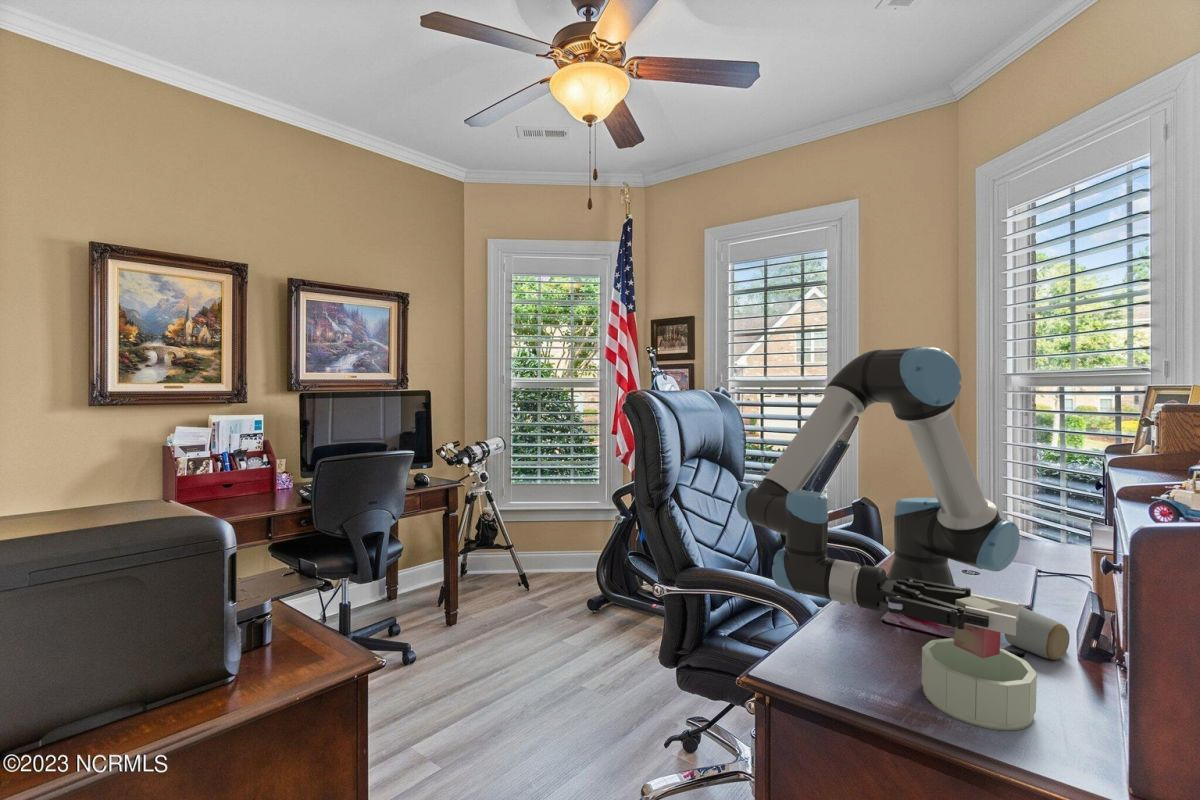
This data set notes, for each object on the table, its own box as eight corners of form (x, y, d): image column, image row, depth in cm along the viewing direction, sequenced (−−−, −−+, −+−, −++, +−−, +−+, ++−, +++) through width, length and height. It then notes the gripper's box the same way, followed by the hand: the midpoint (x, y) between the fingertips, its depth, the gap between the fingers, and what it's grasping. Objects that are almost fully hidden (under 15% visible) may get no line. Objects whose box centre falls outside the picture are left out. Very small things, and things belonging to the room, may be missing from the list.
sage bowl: (902, 682, 98) (903, 643, 98) (976, 673, 101) (977, 635, 101) (975, 736, 84) (976, 689, 83) (1059, 724, 86) (1060, 679, 86)
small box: (952, 645, 94) (953, 598, 93) (970, 641, 95) (971, 595, 95) (983, 659, 89) (984, 610, 89) (1001, 654, 90) (1002, 606, 90)
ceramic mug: (1050, 666, 104) (1051, 625, 103) (1002, 647, 111) (1003, 608, 111) (1081, 655, 108) (1082, 615, 108) (1033, 637, 116) (1034, 600, 115)
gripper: (872, 590, 111) (1019, 622, 96) (843, 622, 96) (1012, 666, 81) (873, 552, 110) (1021, 578, 96) (844, 579, 96) (1014, 614, 81)
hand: (1016, 619), depth 89 cm, fingers closed on small box, 6 cm apart
